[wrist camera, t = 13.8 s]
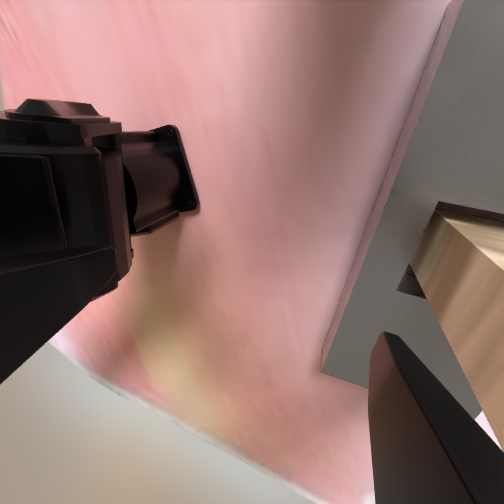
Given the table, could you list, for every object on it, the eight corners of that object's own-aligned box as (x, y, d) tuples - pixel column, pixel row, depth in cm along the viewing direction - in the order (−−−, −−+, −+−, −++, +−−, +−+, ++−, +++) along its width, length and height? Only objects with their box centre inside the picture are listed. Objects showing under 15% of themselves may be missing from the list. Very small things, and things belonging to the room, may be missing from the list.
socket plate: (323, 345, 24) (320, 371, 22) (448, 4, 14) (473, -25, 11) (455, 389, 22) (470, 424, 20) (731, 23, 11) (848, -9, 9)
